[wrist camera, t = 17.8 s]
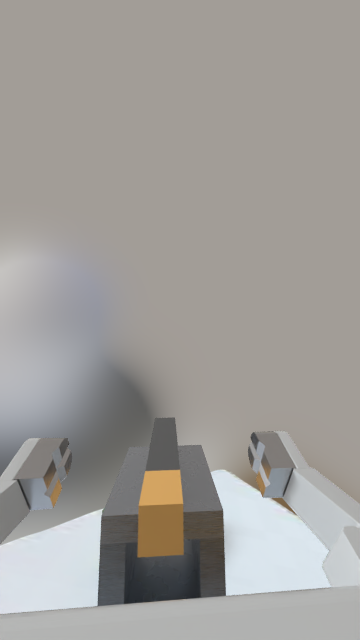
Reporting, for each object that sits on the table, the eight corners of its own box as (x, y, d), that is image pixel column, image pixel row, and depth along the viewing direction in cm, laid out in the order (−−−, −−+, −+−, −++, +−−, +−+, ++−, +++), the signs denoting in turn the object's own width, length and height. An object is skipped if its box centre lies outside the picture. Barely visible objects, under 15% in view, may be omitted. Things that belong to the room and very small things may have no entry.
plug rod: (137, 557, 13) (138, 505, 14) (155, 439, 31) (155, 418, 32) (183, 554, 14) (183, 503, 14) (174, 438, 31) (174, 417, 32)
